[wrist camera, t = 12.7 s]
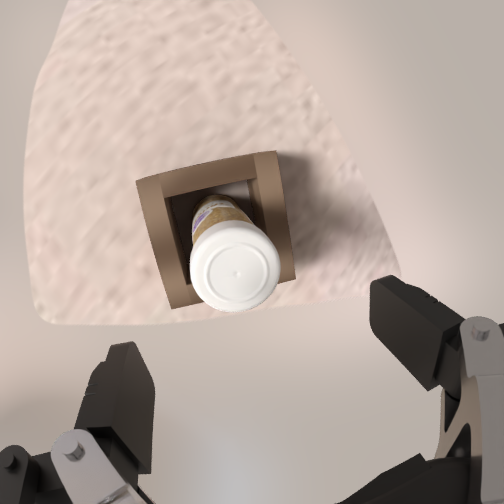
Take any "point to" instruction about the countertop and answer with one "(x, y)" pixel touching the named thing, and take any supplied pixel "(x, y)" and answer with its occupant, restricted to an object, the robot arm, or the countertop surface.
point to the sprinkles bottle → (230, 257)
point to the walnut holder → (204, 176)
